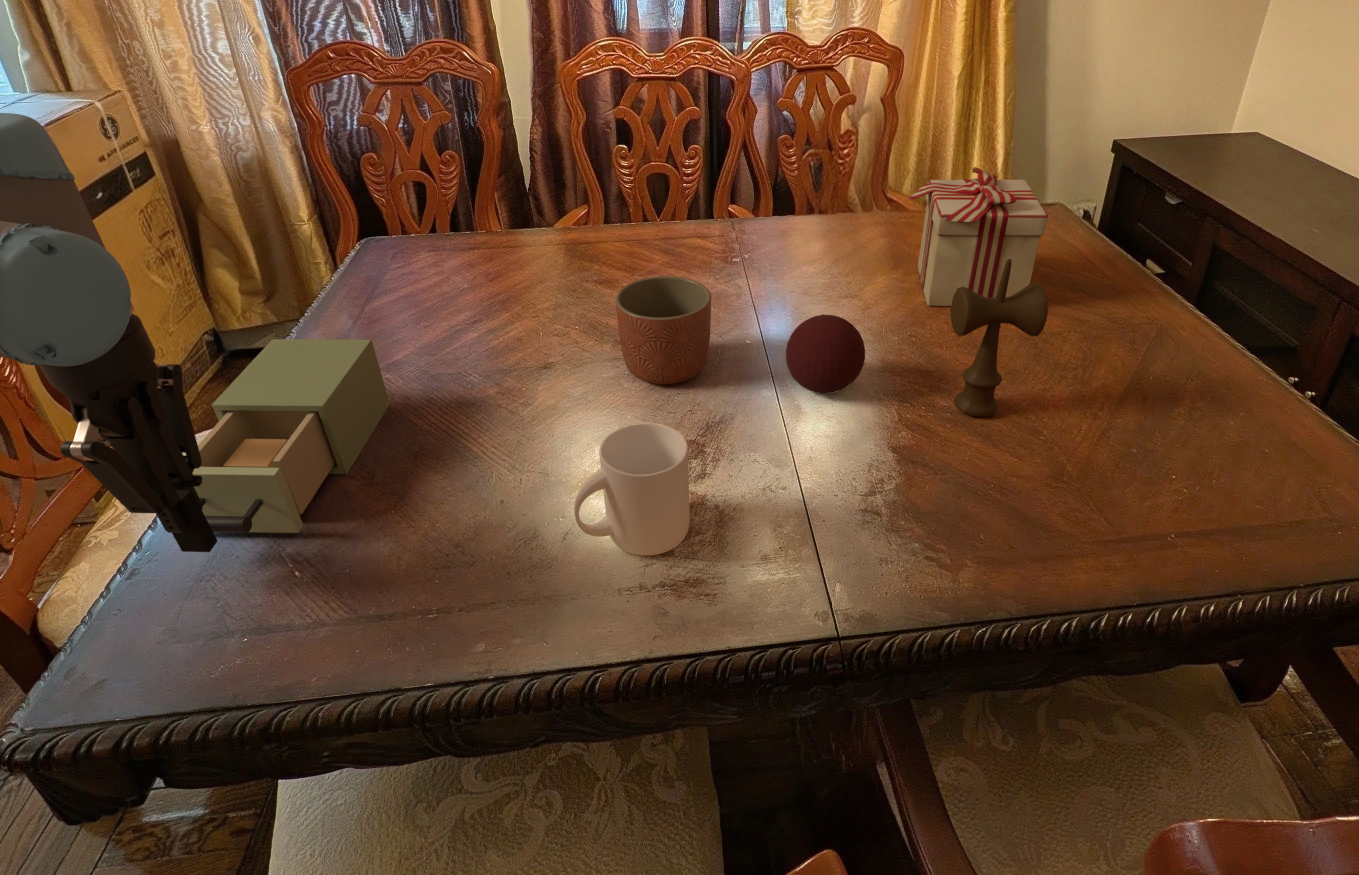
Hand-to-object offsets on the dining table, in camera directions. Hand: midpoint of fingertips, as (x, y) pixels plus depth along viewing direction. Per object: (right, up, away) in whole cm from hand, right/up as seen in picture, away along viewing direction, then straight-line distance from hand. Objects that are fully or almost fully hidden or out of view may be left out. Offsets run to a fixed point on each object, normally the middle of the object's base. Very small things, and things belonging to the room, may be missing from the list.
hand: (200, 546), depth 76 cm
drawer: (+1, +3, +11) cm, 12 cm away
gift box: (+90, +34, +51) cm, 109 cm away
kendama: (+83, +14, +24) cm, 87 cm away
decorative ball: (+64, +17, +29) cm, 73 cm away
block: (+1, +5, +12) cm, 13 cm away
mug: (+41, 0, +7) cm, 42 cm away
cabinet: (+1, +10, +23) cm, 25 cm away
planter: (+44, +20, +34) cm, 59 cm away
